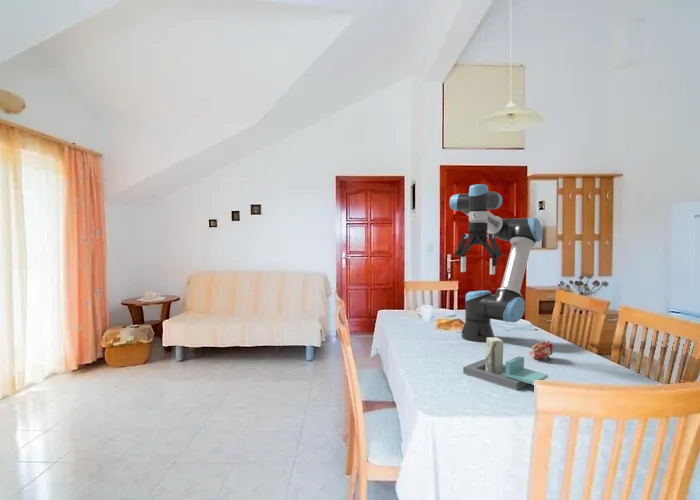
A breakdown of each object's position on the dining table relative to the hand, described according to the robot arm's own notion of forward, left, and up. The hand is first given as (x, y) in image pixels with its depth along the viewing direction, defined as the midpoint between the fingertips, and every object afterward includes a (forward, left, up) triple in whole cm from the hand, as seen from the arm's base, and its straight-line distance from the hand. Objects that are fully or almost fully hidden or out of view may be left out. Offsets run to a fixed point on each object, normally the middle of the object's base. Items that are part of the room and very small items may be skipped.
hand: (477, 273), depth 163 cm
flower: (+20, +15, -35) cm, 43 cm away
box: (+17, -16, -34) cm, 42 cm away
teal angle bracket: (+29, -16, -32) cm, 46 cm away
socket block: (+19, -16, -35) cm, 43 cm away
